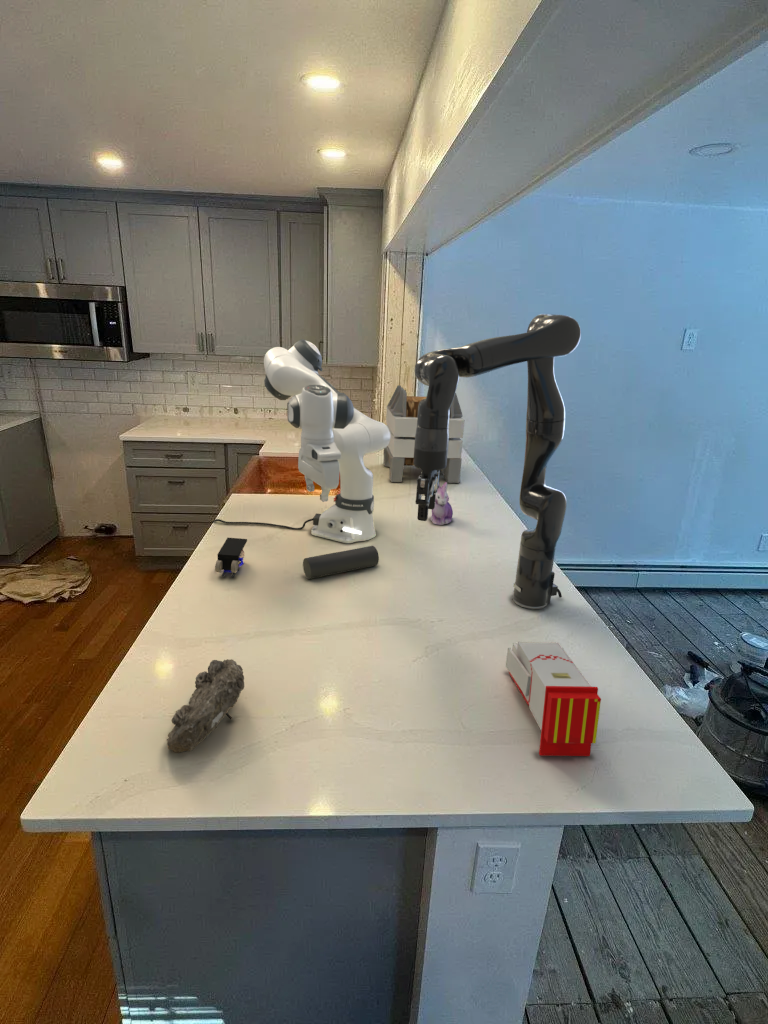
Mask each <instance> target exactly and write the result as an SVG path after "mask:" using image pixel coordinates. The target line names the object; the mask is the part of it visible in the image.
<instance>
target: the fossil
mask: <svg viewBox="0 0 768 1024" xmlns="http://www.w3.org/2000/svg"><path fill="white" fill-rule="evenodd" d="M243 670H244V669H243V667H242V665H240V664H237V662H236V661H235V660H234V659H232V658H231V659H227V658H226V659H224V660H223V661H222V660H217V659H212V660H211V661H210V663H209V665H208V666H207V671H201V672H199V673H198V674H197V675H196V676H195V680H194V684H195V685H194V687H195V689H194V690H193V693H192V694H191V697H190V698H189V700H188V704H184V705H182V706H181V707H180V709H177V710H176V711H175V713H174V715H173V716H172V718H171V723H172V724H173V727H172V730H171V731H170V732H168V734H167V738H166V741H167V742H166V745H167V749H168V750H169V751H173V752H174V753H176V754H178V753H182V752H188V751H189V752H192V751H193V750H195V748H196V747H197V746H199V744H200V743H201V742H203V741H204V740H205V739H206V738H207V737H208V736H209V735H210V734H211V733H212V732H214V730H215V729H217V727H218V726H219V724H220V722H221V721H222V720H223V719H224V718H225V716H226V717H227V719H229V720H233V717H232V715H230V714H229V710H230V709H231V708H234V706H235V704H236V703H237V702H238V699H239V697H240V695H241V693H242V691H243V690H245V689H244V688H245V675H244V671H243Z"/></svg>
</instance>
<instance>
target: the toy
mask: <svg viewBox="0 0 768 1024" xmlns="http://www.w3.org/2000/svg"><path fill="white" fill-rule="evenodd" d="M511 646H512V647H508V648H507V653H506V658H505V659H506V660H505V668H506V669H507V671H508V675H509V676H510V677H511V679H512V681H513V682H514V684H515V686H516V688H517V689H518V691H519V693H520V694H521V696H522V698H523V700H524V702H525V703H526V705H527V706H528V708H529V710H530V712H531V715H532V716H533V718H534V720H535V722H536V723H537V724H536V725H537V726H538V727H539V730H540V731H541V733H540V739H539V740H540V741H539V749H538V751H539V752H538V754H539V756H543V757H548V756H550V757H551V756H552V757H553V756H554V757H568V756H569V757H591V751H592V744H596V743H597V734H598V726H599V717H600V710H601V702H602V698H601V697H600V696H599V694H598V693H599V688H598V686H592V684H590V682H589V681H588V680H587V678H586V677H585V676H584V675H583V673H582V672H581V671H580V669H579V668H578V667H577V665H576V664H575V663H574V661H573V660H572V659H571V658H570V656H569V655H568V654H567V652H566V651H565V649H564V647H562V645H561V644H560V643H559V642H553V641H551V642H549V641H548V642H547V641H546V642H545V641H517V642H512V645H511Z"/></svg>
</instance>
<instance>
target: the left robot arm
mask: <svg viewBox="0 0 768 1024" xmlns="http://www.w3.org/2000/svg"><path fill="white" fill-rule="evenodd" d="M322 365H323V357H322V354H321V352H320V350H319V348H318V347H317V346H316V344H314V343H312V342H311V341H309V340H307V339H303V338H301V339H299V340H297V341H296V342H294V344H293V346H291V347H290V348H289V349H287V348H285V347H281V346H275V347H272V348H270V349H268V350H267V352H266V353H265V355H264V357H263V367H264V372H265V377H264V381H263V382H264V388H266V390H267V392H268V393H269V394H270V395H271V396H272V397H273V398H275V399H276V400H277V399H278V400H280V401H286V400H288V399H289V400H288V401H287V404H286V406H287V407H286V410H287V413H286V414H287V422H288V423H289V424H290V425H291V426H292V427H294V428H295V429H299V430H301V433H300V447H299V450H298V456H297V457H298V458H297V468H298V472H299V473H301V474H302V475H304V480H305V484H306V491H307V492H309V493H311V492H314V491H315V485H314V483H315V484H316V485H318V486H319V487H320V490H321V493H320V494H319V500H320V501H321V502H322V503H324V502H325V503H326V502H328V501H329V495H330V492H331V490H336V489H337V488H338V486H339V485H340V488H339V489H340V490H339V491H338V492H337V494H336V495H335V496H334V497H333V502H334V504H333V505H331V506H329V507H328V508H326V509H325V510H323V512H321V513H315V514H314V515H313V517H312V518H309V519H307V520H305V521H304V522H303V523H302V526H301V527H291V526H288V525H282V524H277V523H269V522H258V521H257V522H256V521H226V520H222V519H219V518H216V519H214V520H212V521H211V523H212V524H213V523H215V522H220V523H223V524H226V525H260V526H271V527H277V528H284V529H289V530H294V531H295V530H297V531H301V530H303V529H304V528H305V527H306V524H307V523H310V522H312V528H311V530H310V533H311V536H315V537H319V538H323V539H326V540H330V541H336V542H339V543H343V544H352V543H357V542H365V541H368V540H372V539H373V538H375V537H376V535H377V532H376V528H375V523H374V513H373V512H374V509H375V496H374V474H373V472H372V470H371V469H369V468H368V467H366V466H365V463H364V462H365V461H364V456H368V455H372V454H376V453H379V452H381V451H384V448H386V447H387V446H388V444H389V442H390V432H389V429H388V427H387V424H385V423H384V422H383V421H378V420H375V419H374V418H371V417H369V416H368V415H366V414H364V413H363V412H362V411H360V410H358V409H357V408H355V407H354V404H353V401H352V399H351V398H350V397H349V396H348V395H347V394H346V393H344V392H341V391H339V390H338V389H337V388H335V386H334V385H332V383H331V382H329V381H328V380H327V379H326V378H325V377H323V376H322V375H321V374H320V373H319V372H323V368H322ZM339 483H340V484H339Z"/></svg>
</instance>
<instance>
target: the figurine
mask: <svg viewBox="0 0 768 1024" xmlns="http://www.w3.org/2000/svg"><path fill="white" fill-rule="evenodd" d="M447 489H448V482H447V481H444V483H443V484H442V485H440V484H439V488H438V489H437V493H436V499H435V508H434V509H433V510H432V509H431V516H430V521H431V522H432V524H434V525H439V526H442V525H446V524H450V523H451V522H452V519H453V515H454V510H453V507H452V504H451V503H450V502H449V500H450V497H449V494H448V491H447Z"/></svg>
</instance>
